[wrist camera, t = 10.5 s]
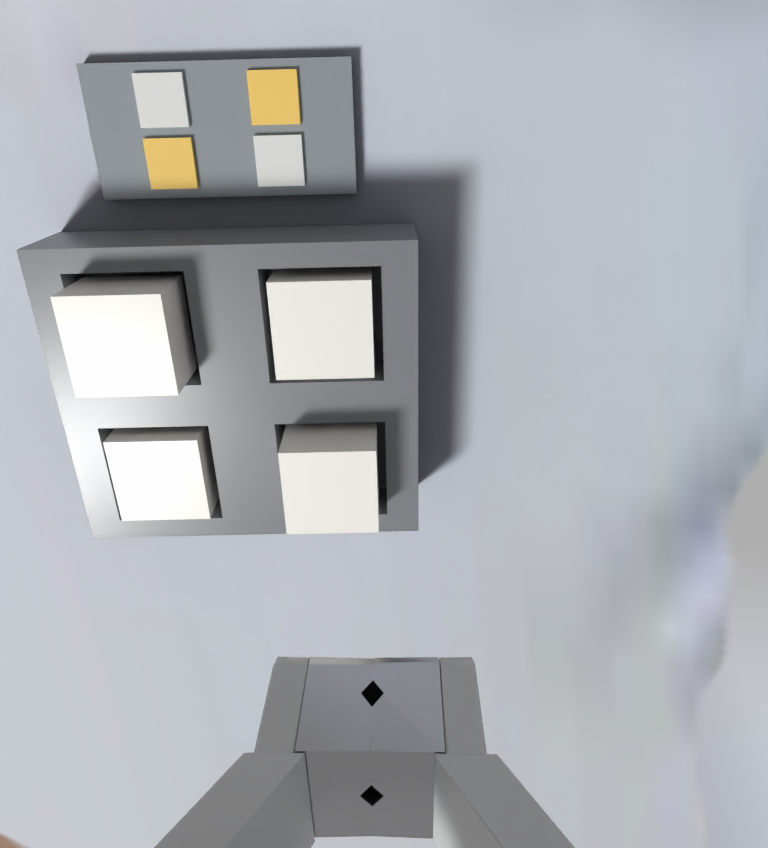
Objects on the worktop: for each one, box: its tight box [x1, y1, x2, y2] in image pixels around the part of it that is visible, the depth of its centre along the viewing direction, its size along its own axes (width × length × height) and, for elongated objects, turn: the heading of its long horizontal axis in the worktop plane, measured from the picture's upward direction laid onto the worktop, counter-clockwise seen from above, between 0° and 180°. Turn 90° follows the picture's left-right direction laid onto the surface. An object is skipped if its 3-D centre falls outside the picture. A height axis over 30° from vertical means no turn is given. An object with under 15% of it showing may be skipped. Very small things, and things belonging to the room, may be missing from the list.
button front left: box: [50, 275, 197, 398], centre depth 27 cm, size 4×4×3 cm
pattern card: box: [76, 56, 357, 200], centre depth 27 cm, size 11×5×1 cm, turn 91°
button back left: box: [103, 426, 219, 521], centre depth 31 cm, size 4×4×3 cm
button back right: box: [278, 422, 379, 534], centre depth 30 cm, size 4×4×3 cm
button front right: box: [266, 266, 375, 380], centre depth 28 cm, size 4×4×3 cm
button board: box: [17, 223, 418, 538], centre depth 31 cm, size 16×14×4 cm
